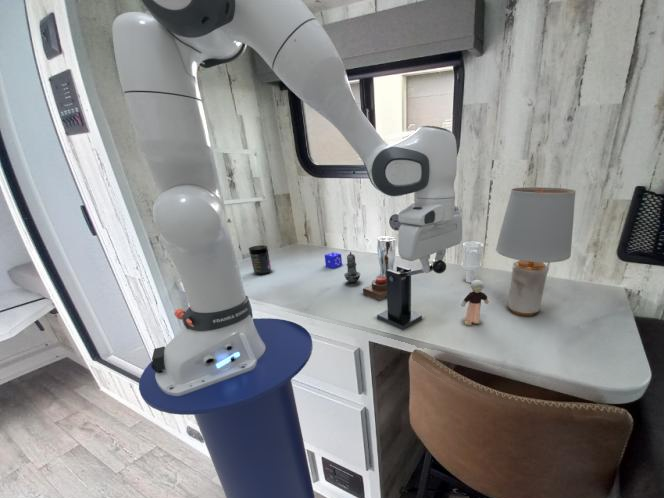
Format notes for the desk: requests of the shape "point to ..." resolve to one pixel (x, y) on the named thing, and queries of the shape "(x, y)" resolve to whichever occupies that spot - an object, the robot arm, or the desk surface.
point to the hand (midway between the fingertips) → (432, 269)
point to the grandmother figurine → (474, 302)
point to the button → (381, 280)
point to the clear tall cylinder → (471, 259)
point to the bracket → (399, 300)
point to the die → (333, 260)
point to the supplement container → (260, 260)
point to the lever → (437, 266)
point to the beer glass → (386, 254)
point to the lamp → (535, 241)
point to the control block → (376, 290)
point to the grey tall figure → (352, 271)
